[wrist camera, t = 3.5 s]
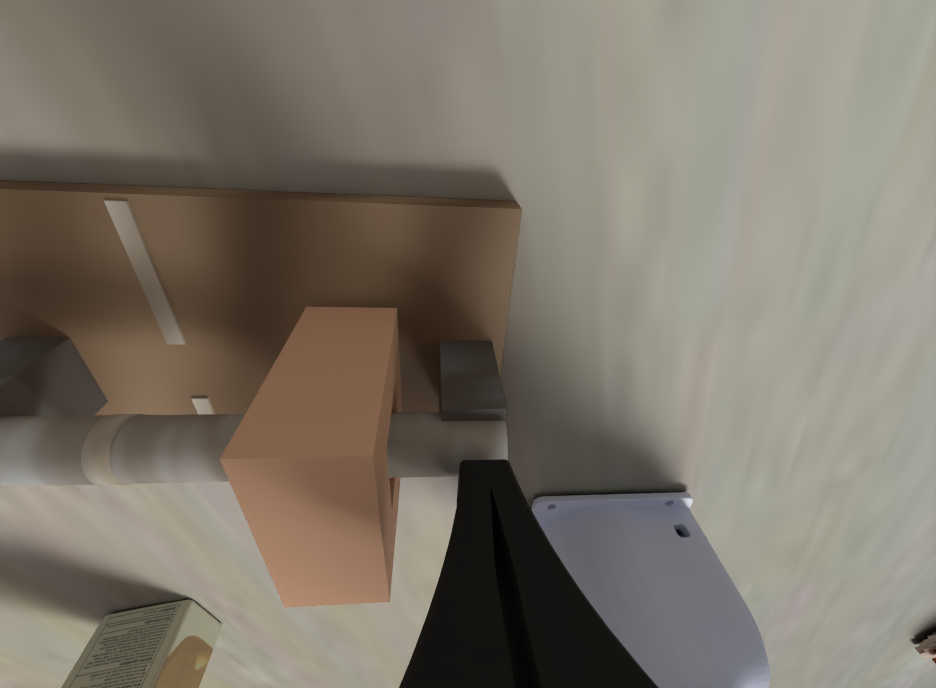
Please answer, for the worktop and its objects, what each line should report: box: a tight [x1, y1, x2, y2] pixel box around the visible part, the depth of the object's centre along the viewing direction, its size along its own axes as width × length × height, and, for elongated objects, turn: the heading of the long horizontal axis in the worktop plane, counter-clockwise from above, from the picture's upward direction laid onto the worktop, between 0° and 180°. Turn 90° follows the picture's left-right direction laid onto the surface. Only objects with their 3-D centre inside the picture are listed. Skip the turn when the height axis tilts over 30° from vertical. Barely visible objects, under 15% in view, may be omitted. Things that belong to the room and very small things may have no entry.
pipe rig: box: [0, 180, 522, 487], centre depth 14 cm, size 18×13×6 cm
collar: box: [220, 307, 402, 607], centre depth 12 cm, size 3×6×6 cm, turn 177°
